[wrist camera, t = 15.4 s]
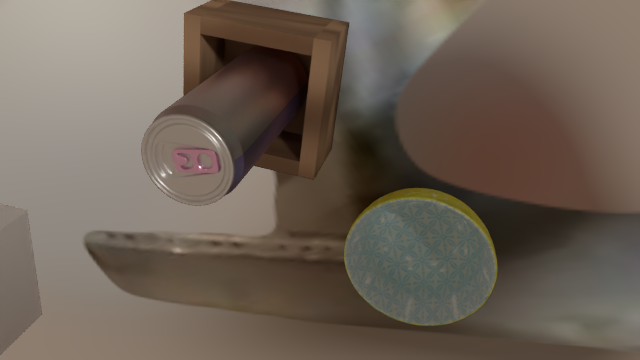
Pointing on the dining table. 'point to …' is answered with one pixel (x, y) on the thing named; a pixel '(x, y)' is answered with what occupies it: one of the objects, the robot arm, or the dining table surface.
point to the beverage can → (224, 125)
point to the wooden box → (285, 34)
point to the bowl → (421, 257)
